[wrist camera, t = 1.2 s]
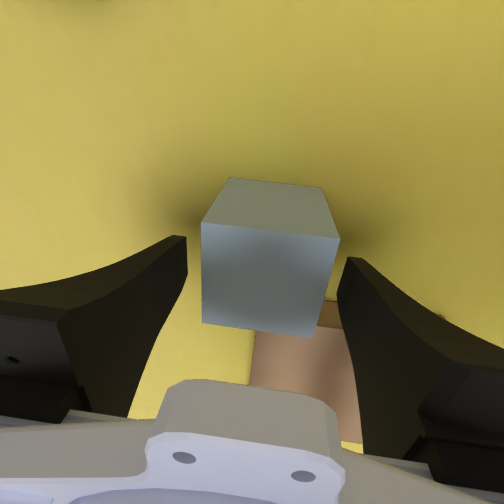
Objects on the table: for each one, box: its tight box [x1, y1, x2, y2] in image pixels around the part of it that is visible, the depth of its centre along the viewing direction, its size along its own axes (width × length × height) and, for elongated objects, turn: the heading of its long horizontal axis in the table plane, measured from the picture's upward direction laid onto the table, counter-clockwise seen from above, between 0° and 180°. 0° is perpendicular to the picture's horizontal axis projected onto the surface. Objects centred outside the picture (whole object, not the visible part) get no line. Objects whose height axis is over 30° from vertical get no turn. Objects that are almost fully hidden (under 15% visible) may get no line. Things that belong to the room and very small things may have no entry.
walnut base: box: [249, 300, 445, 444], centre depth 21 cm, size 12×12×2 cm
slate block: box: [201, 177, 341, 338], centre depth 14 cm, size 5×5×6 cm
